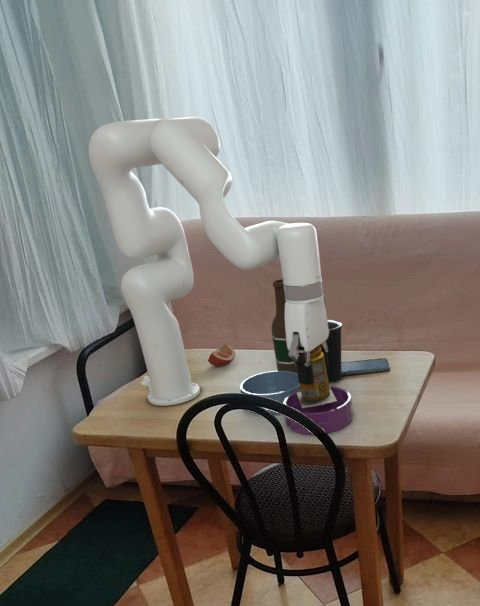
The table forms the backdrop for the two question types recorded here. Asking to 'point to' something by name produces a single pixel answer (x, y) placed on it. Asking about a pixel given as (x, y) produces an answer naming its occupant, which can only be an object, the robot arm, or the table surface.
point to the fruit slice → (222, 356)
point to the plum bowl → (323, 412)
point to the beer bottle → (281, 331)
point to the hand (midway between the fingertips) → (314, 376)
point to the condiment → (316, 382)
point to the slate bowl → (271, 385)
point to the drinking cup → (334, 350)
